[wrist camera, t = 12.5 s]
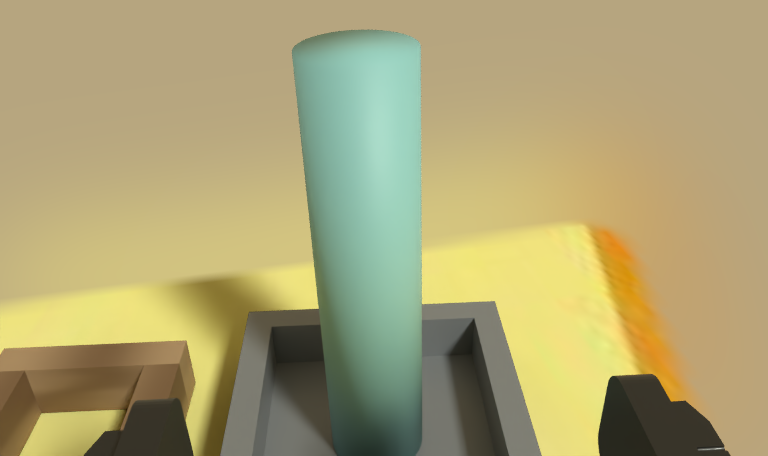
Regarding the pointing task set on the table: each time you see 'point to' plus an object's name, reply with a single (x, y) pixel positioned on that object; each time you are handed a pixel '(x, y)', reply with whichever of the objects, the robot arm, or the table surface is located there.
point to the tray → (439, 387)
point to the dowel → (366, 231)
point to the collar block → (87, 382)
